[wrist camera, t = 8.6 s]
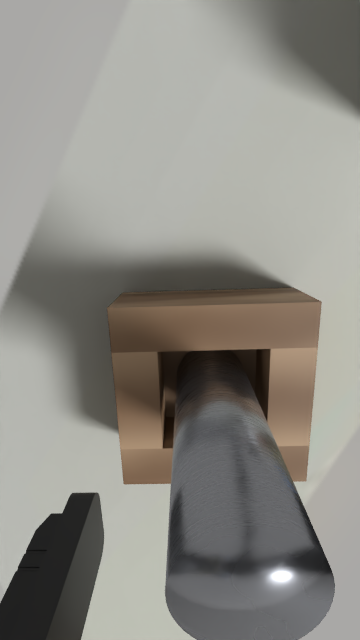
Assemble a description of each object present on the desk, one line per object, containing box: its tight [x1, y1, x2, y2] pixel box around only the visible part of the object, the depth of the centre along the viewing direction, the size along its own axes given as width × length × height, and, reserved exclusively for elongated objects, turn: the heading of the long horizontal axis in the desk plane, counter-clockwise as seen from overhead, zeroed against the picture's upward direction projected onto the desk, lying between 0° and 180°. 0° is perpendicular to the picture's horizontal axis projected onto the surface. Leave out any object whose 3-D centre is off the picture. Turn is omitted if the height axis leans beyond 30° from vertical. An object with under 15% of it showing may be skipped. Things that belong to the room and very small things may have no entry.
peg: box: [165, 350, 335, 640], centre depth 13 cm, size 4×4×12 cm
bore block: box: [107, 288, 322, 484], centre depth 18 cm, size 10×10×4 cm
